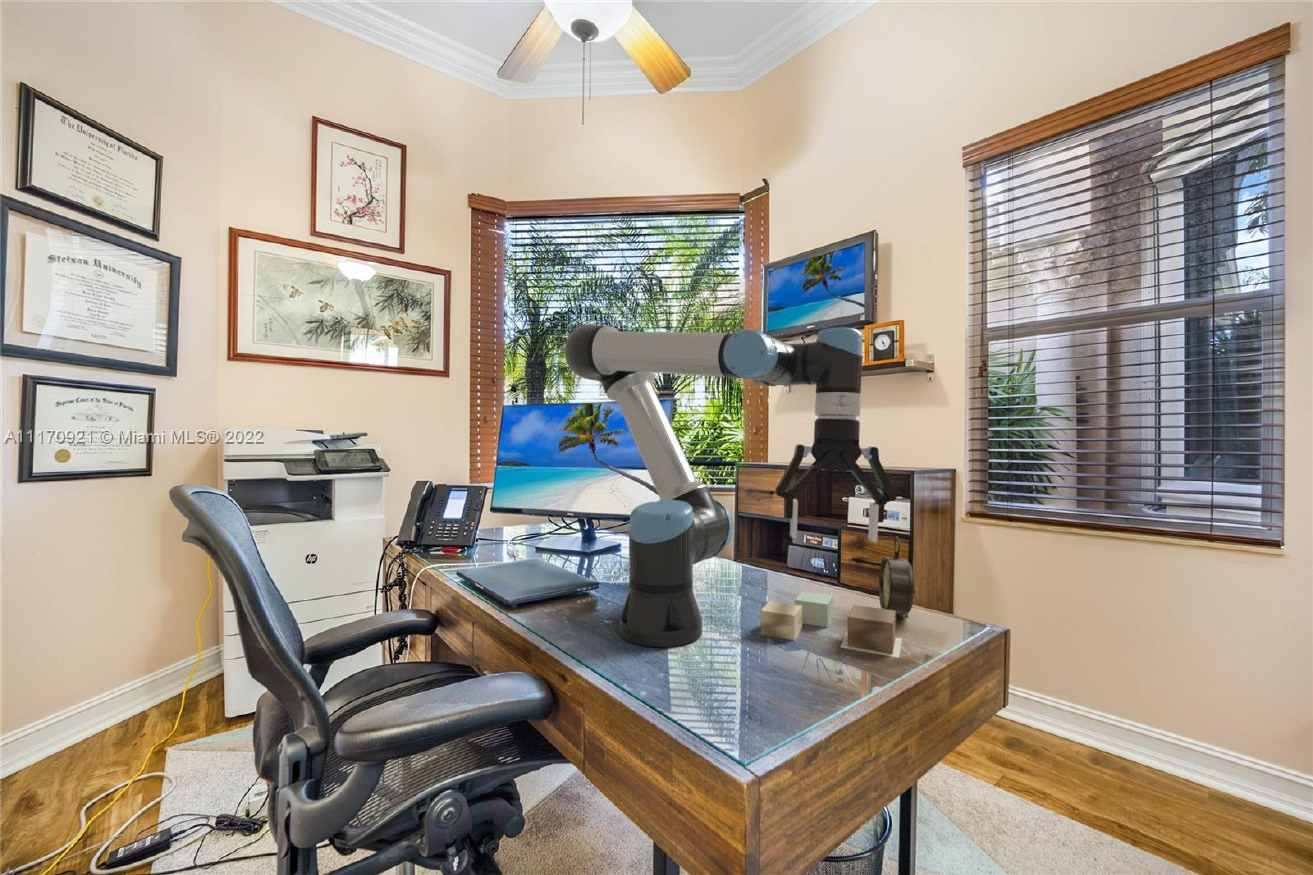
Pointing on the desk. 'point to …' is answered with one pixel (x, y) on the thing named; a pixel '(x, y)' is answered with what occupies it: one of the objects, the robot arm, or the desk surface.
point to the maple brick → (781, 620)
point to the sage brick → (815, 608)
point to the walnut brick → (871, 629)
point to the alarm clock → (896, 584)
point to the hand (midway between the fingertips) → (832, 539)
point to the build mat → (895, 652)
